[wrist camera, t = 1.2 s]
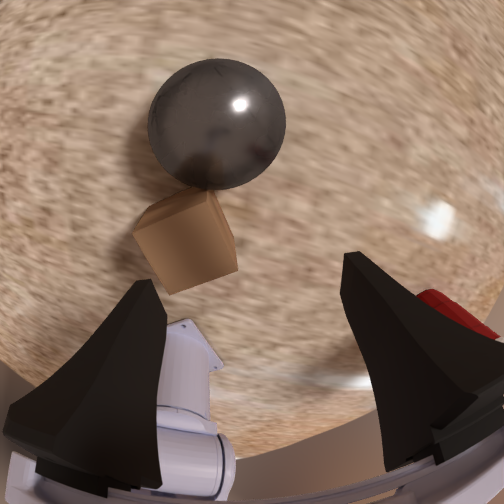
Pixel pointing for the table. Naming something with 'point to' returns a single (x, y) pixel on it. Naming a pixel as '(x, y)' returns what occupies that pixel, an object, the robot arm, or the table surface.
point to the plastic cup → (456, 313)
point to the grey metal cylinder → (216, 124)
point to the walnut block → (187, 240)
